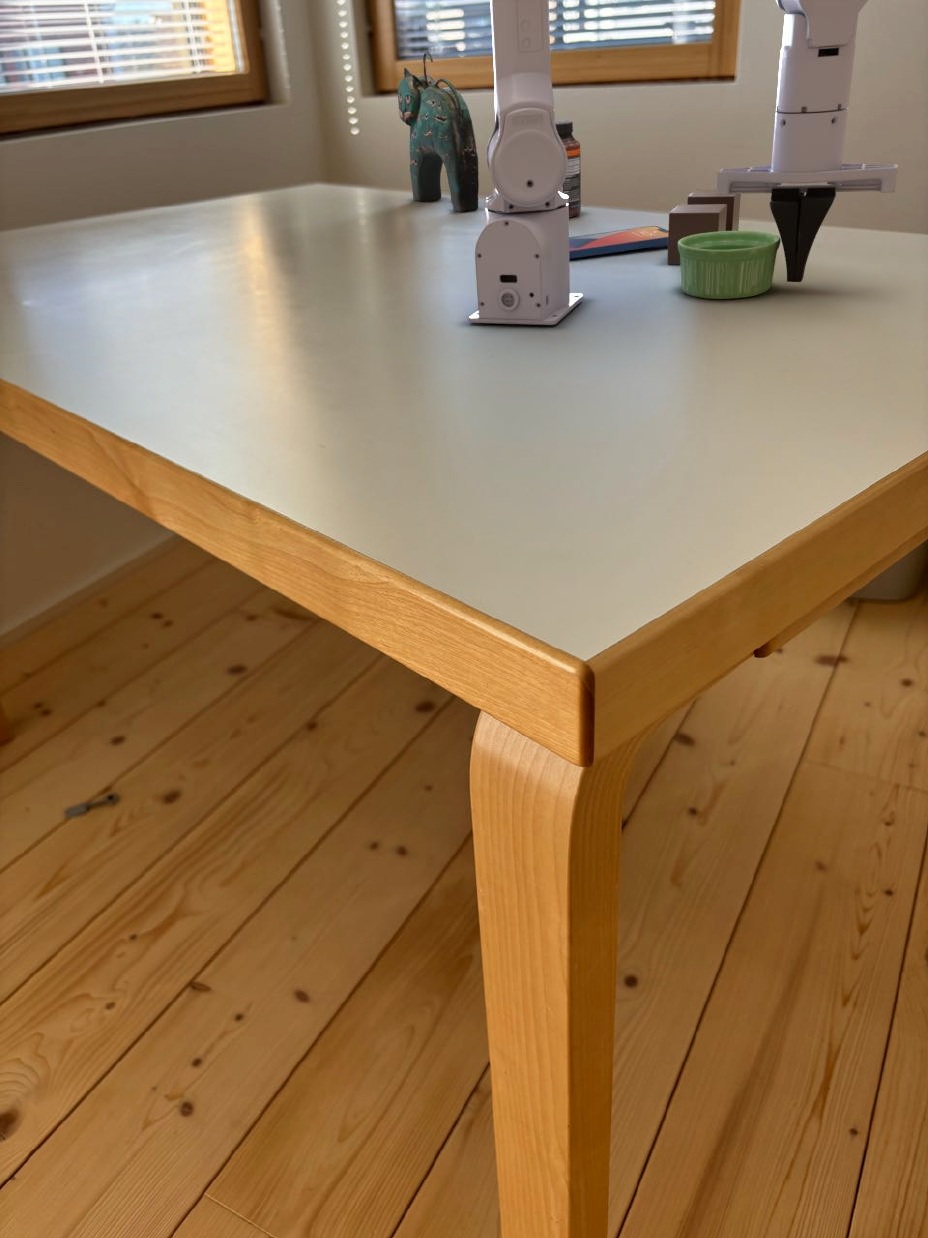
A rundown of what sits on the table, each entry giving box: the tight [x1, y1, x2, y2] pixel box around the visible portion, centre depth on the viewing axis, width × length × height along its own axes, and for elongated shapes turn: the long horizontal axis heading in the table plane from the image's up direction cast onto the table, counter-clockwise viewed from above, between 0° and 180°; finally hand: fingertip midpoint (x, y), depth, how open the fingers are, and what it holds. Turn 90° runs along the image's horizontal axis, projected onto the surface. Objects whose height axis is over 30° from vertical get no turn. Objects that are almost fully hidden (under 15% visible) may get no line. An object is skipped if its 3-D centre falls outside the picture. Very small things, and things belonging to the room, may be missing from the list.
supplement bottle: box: [554, 119, 582, 218], centre depth 130 cm, size 6×6×11 cm
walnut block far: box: [686, 188, 742, 231], centre depth 110 cm, size 5×5×5 cm
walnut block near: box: [666, 204, 727, 266], centre depth 103 cm, size 5×5×5 cm
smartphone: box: [569, 225, 669, 260], centre depth 111 cm, size 7×15×1 cm, turn 104°
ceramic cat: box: [397, 50, 480, 213], centre depth 144 cm, size 20×6×20 cm, turn 24°
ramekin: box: [678, 230, 782, 300], centre depth 91 cm, size 9×9×4 cm
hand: (795, 279), depth 89 cm, fingers closed
